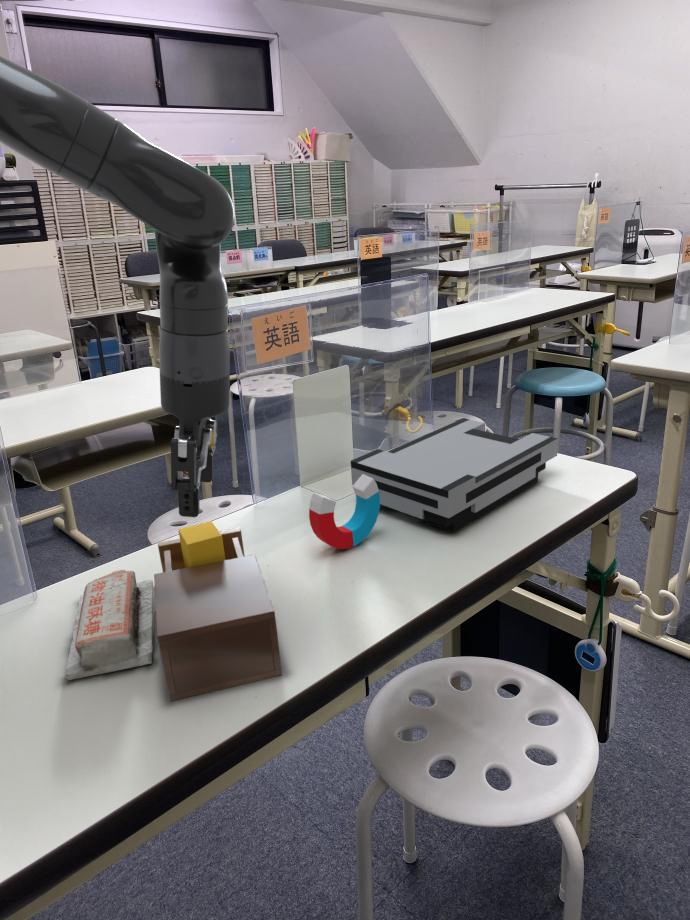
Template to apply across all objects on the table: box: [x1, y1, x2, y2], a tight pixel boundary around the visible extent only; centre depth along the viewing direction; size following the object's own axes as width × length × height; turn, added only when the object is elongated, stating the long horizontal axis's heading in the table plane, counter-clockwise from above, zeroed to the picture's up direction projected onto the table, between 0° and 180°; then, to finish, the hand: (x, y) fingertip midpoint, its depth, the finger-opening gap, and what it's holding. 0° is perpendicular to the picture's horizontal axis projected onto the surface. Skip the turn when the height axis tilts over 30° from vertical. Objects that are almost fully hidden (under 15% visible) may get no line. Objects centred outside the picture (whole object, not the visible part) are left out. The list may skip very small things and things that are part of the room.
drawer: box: [157, 527, 246, 573], centre depth 93 cm, size 17×11×7 cm
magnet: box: [308, 474, 381, 550], centre depth 104 cm, size 12×3×10 cm, turn 128°
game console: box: [350, 417, 559, 534], centre depth 121 cm, size 21×32×8 cm, turn 134°
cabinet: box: [153, 554, 283, 702], centre depth 81 cm, size 14×13×9 cm
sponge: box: [178, 520, 225, 568], centre depth 91 cm, size 4×5×9 cm
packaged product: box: [64, 569, 155, 681], centre depth 88 cm, size 18×5×10 cm
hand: (196, 497), depth 82 cm, fingers open, 8 cm apart
